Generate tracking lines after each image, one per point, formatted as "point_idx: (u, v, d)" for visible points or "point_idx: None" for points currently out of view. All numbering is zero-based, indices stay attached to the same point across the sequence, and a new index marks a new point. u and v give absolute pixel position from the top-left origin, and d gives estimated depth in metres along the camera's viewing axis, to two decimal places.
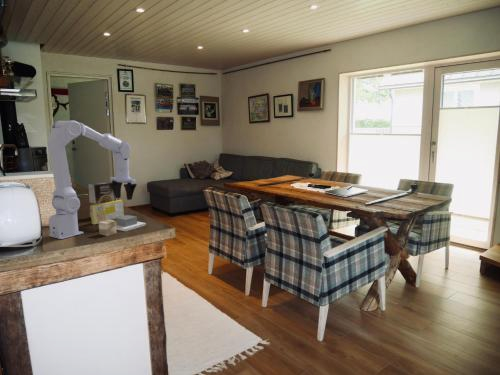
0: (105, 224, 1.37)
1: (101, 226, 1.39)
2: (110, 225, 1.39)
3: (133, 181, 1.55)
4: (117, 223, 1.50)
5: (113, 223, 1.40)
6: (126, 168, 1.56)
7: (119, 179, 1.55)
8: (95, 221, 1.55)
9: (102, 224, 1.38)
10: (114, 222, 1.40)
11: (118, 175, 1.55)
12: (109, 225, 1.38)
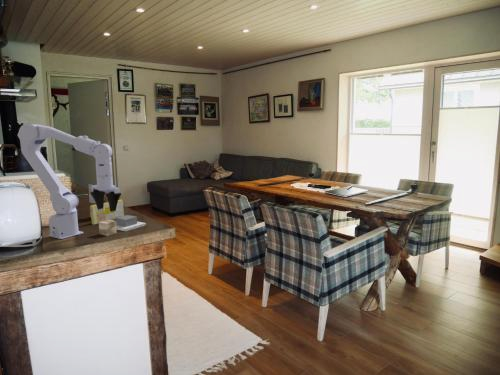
0: (105, 224, 1.37)
1: (101, 226, 1.39)
2: (110, 225, 1.39)
3: (117, 190, 1.34)
4: (117, 223, 1.50)
5: (113, 223, 1.40)
6: (109, 175, 1.36)
7: (101, 188, 1.35)
8: (95, 221, 1.55)
9: (102, 224, 1.38)
10: (114, 222, 1.40)
11: (99, 183, 1.35)
12: (109, 225, 1.38)
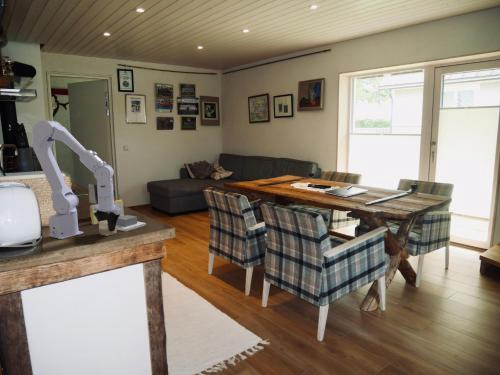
0: (105, 224, 1.37)
1: (101, 226, 1.39)
2: None
3: (118, 211, 1.35)
4: (117, 223, 1.50)
5: None
6: (110, 196, 1.37)
7: (102, 209, 1.36)
8: (95, 221, 1.55)
9: (102, 224, 1.38)
10: None
11: (101, 204, 1.36)
12: None
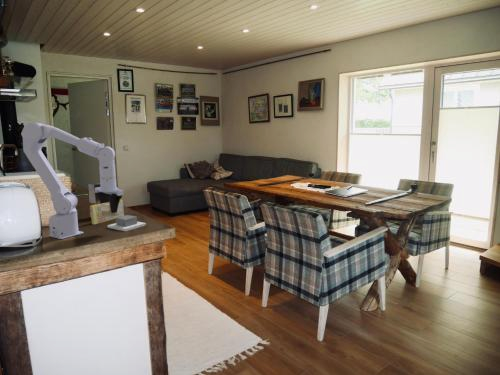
0: (107, 206, 1.38)
1: (103, 208, 1.39)
2: None
3: (120, 192, 1.36)
4: (117, 223, 1.50)
5: None
6: (112, 177, 1.37)
7: (104, 190, 1.37)
8: (95, 221, 1.55)
9: (104, 206, 1.39)
10: None
11: (103, 185, 1.37)
12: None
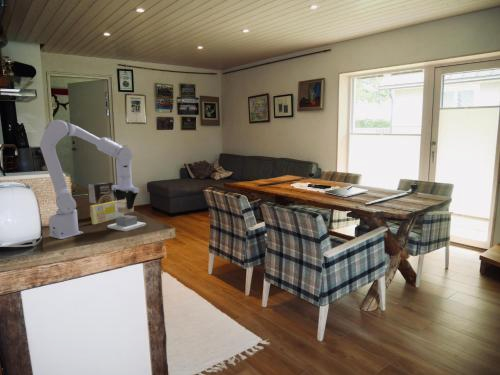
0: (124, 203, 1.46)
1: (119, 204, 1.48)
2: None
3: (136, 190, 1.45)
4: (117, 223, 1.50)
5: None
6: (128, 176, 1.46)
7: (121, 187, 1.46)
8: (95, 221, 1.55)
9: (120, 202, 1.47)
10: None
11: (120, 183, 1.46)
12: None
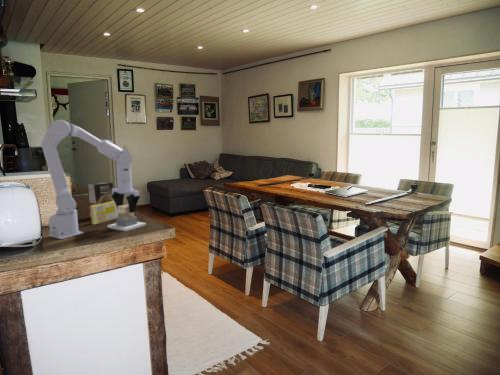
0: (124, 208, 1.47)
1: (120, 210, 1.48)
2: (128, 209, 1.48)
3: (136, 193, 1.45)
4: (117, 223, 1.50)
5: None
6: (129, 179, 1.46)
7: (121, 191, 1.46)
8: (95, 221, 1.55)
9: (121, 208, 1.48)
10: None
11: (120, 186, 1.46)
12: (127, 209, 1.48)
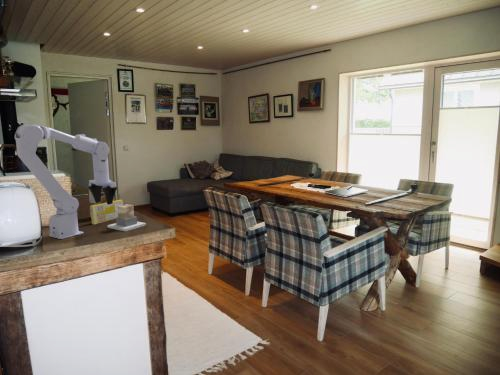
0: (124, 208, 1.47)
1: (120, 210, 1.48)
2: (128, 209, 1.48)
3: (113, 184, 1.43)
4: (117, 223, 1.50)
5: (131, 207, 1.49)
6: (105, 170, 1.44)
7: (98, 182, 1.44)
8: (95, 221, 1.55)
9: (121, 208, 1.48)
10: (132, 206, 1.50)
11: (96, 178, 1.44)
12: (127, 209, 1.48)
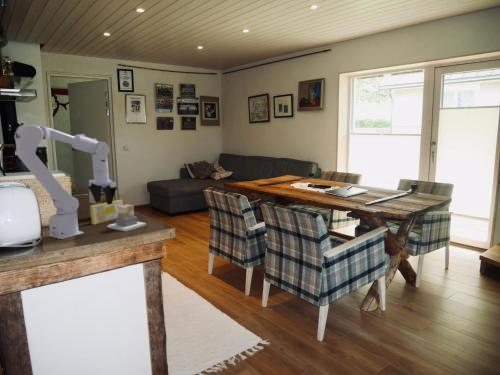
0: (124, 208, 1.47)
1: (120, 210, 1.48)
2: (128, 209, 1.48)
3: (112, 184, 1.43)
4: (117, 223, 1.50)
5: (131, 207, 1.49)
6: (105, 170, 1.44)
7: (97, 182, 1.44)
8: (95, 221, 1.55)
9: (121, 208, 1.48)
10: (132, 206, 1.50)
11: (96, 178, 1.44)
12: (127, 209, 1.48)
